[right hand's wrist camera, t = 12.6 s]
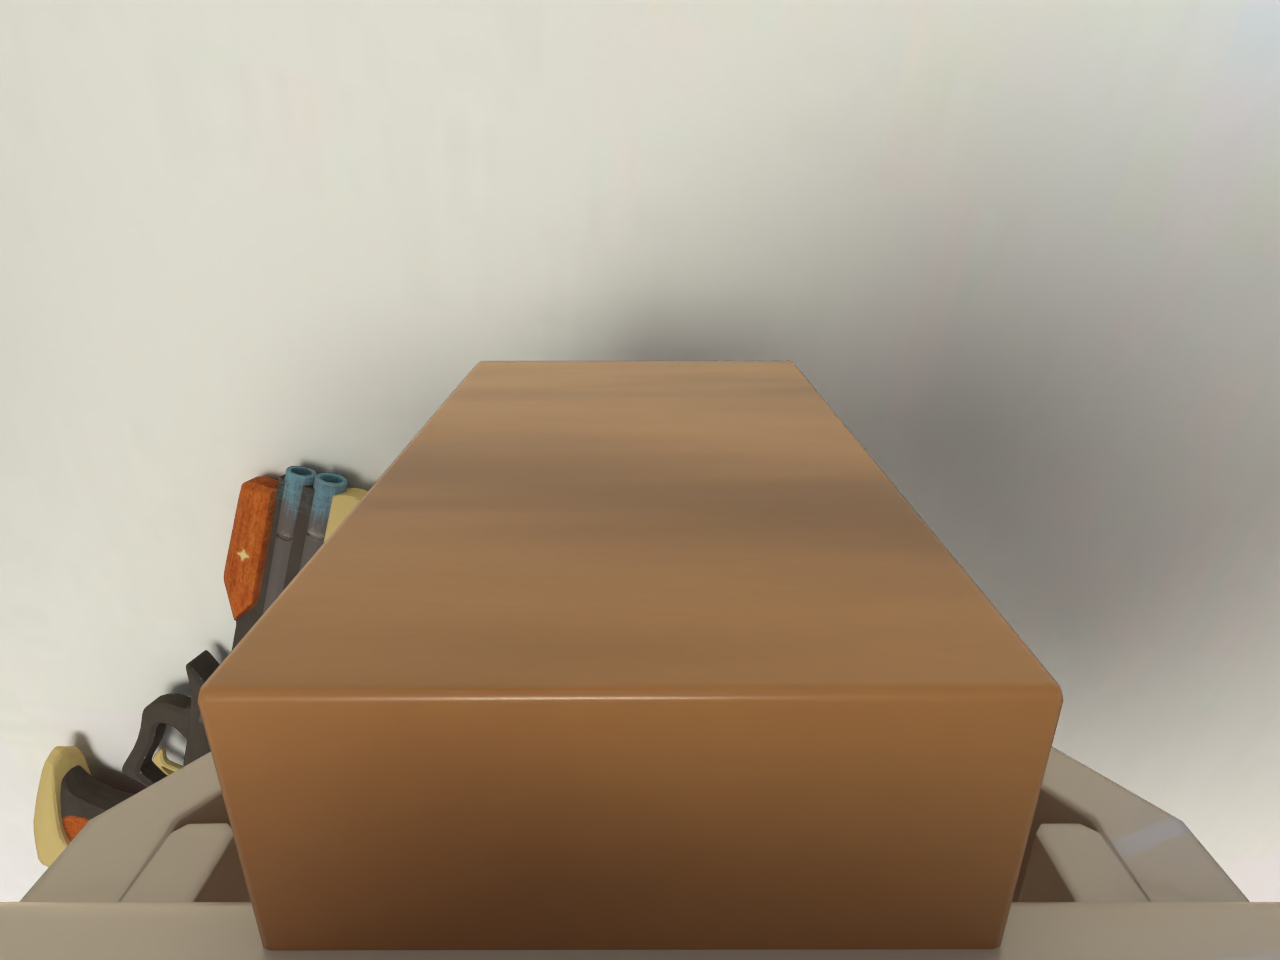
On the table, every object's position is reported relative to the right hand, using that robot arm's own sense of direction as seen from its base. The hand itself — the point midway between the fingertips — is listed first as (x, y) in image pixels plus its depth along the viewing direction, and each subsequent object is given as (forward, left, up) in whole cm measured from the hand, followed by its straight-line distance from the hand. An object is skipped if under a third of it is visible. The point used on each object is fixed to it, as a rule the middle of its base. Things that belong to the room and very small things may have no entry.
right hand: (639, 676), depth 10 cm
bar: (-2, +10, -3) cm, 10 cm away
